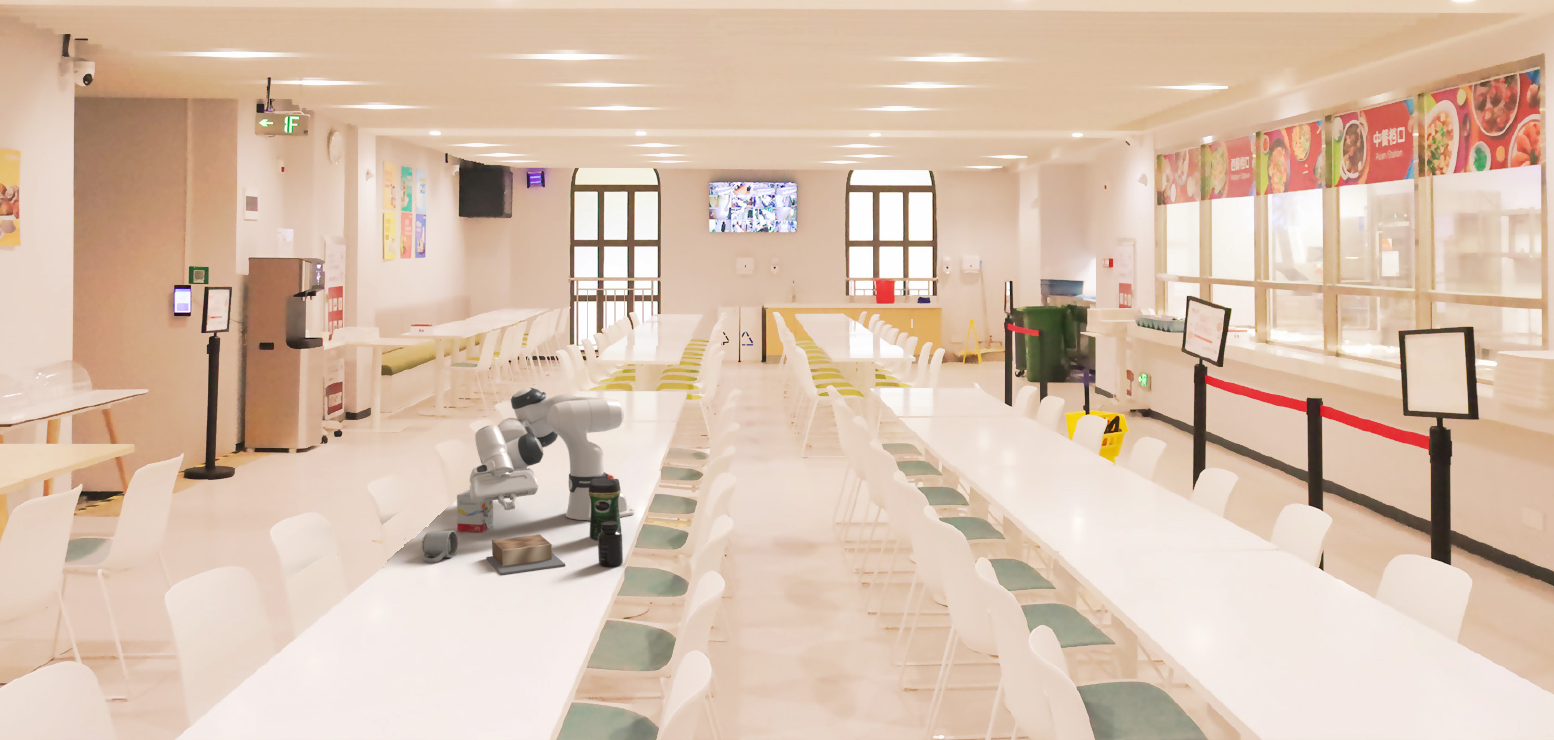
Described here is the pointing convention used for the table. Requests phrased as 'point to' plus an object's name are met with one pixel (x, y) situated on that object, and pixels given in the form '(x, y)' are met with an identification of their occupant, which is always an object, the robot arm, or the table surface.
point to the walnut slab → (521, 549)
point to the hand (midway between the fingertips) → (510, 509)
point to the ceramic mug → (439, 545)
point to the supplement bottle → (610, 545)
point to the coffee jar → (603, 504)
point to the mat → (525, 565)
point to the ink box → (473, 514)
